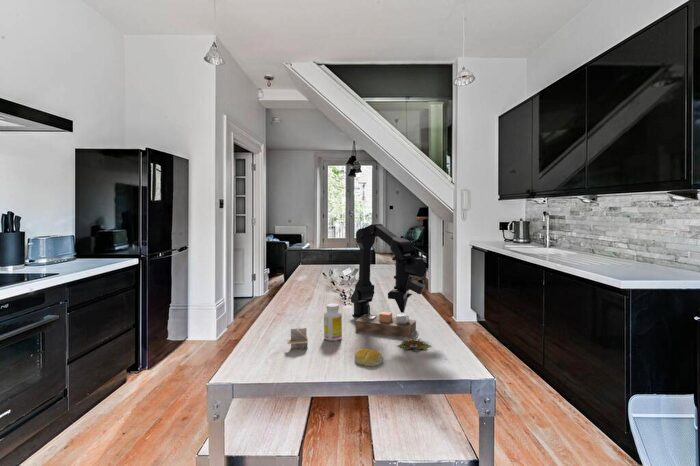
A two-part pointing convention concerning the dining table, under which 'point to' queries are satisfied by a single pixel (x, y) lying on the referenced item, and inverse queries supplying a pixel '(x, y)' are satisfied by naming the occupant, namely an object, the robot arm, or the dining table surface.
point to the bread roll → (368, 357)
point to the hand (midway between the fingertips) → (402, 312)
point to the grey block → (402, 319)
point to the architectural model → (298, 338)
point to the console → (386, 327)
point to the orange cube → (385, 317)
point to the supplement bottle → (332, 323)
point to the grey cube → (369, 317)
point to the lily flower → (413, 342)
